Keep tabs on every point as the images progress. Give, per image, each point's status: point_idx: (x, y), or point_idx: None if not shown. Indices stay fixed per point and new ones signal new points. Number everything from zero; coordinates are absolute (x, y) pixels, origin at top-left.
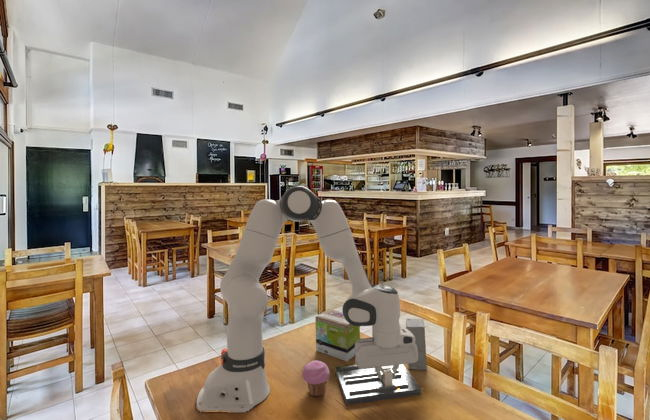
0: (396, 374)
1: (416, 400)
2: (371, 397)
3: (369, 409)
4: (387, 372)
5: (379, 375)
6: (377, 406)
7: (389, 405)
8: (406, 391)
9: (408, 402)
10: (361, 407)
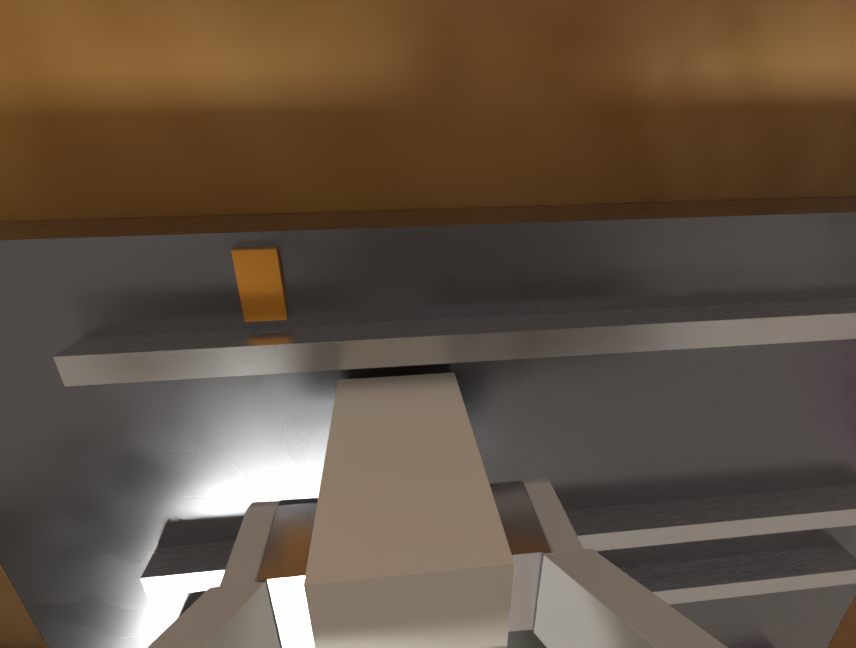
0: (216, 577)
1: (27, 105)
2: (703, 211)
3: (768, 44)
4: (448, 574)
5: (569, 533)
6: (641, 86)
7: (475, 72)
8: (135, 233)
9: (170, 81)
10: (835, 111)
